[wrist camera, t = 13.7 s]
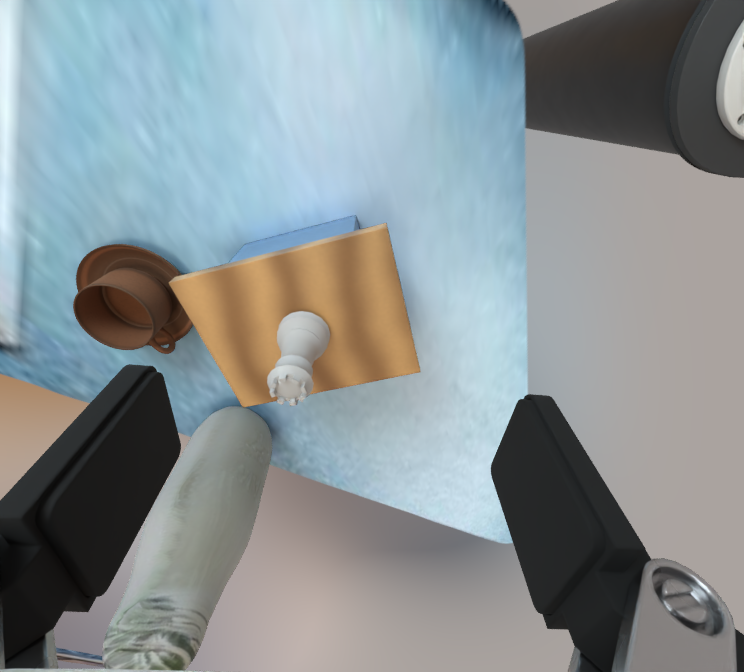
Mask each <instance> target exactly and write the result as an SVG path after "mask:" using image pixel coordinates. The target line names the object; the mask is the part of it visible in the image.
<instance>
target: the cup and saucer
mask: <svg viewBox="0 0 744 672" xmlns="http://www.w3.org/2000/svg"><path fill="white" fill-rule="evenodd" d="M181 275H182V274H181V273H180V272H179V271H178V270H177V269H176V268H175V267H174V266H173V265H172V264H171V263H169V262H168V261H167V260H165V259H164V258H162V257H161V256H159V255H157V254H155V253H153V252H151V251H149V250H146V249H144V248H141V247H137V246H133V245H126V244H114V245H107V246H103V247H100V248H97V249H95V250H93V251H91V252H90V253H88V254H87V255H86V256H85V257H84V258H83V260H82V261H81V263H80V264H79V267H78V270H77V275H76V283H77V289H78V294H77V295H76V297H75V299H74V304H73V308H74V313H75V316H76V319H77V321H78V322H79V324H80V325H81V327H82V328H83V329H84V330H85V331H86V332H87V333H88V334H89V335H90V336H91V337H93V338H94V339H95V340H97V341H99V342H100V343H102V344H104V345H107V346H109V347H112V348H116V349H121V350H134V349H138V348H141V347H143V346H145V345H149V346H152V347H153V348H155V349H156V350H157V351H159V352H161V353H164V354H169V353H171V352H173V351H174V349H175V342H176V341H178V340H180V339H181V338H183V337H184V336H185V335H186V334H187V333H188V332H189V331H190V329H191V327H192V325H193V323H192V321H191V320H190V318H189V316H188V315H187V313H186V311H185V310H184V308H183V306H182V305H181V303H180V301H179V300H178V298H177V296H176V295H175V293H174V291H173V290H172V288H171V286H170V285H169V282H170V281H171V280H172V279H173V278H174V277H177V276H181ZM167 344H169V347H168V348H163V347H161V345H167Z"/></svg>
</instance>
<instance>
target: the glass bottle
mask: <svg viewBox="0 0 744 672" xmlns="http://www.w3.org/2000/svg"><path fill="white" fill-rule="evenodd" d="M271 454H272V438H271V433H270V430H269V428H268V426H267V424H266V422H265V421H264V420H263V419H262V418H261V417H260V416H259V415H258V414H256V413H255V412H253V411H251V410H250V409H247V408H243V407H238V406H230V407H226V408H223V409H221V410H218V411H216V412H214V413H212V414H211V415H210V416H209V417H208V418H207V419H206V420H205V421H204V422H203V423H202V424H201V425H200V426H199V427H198V428H197V429H196V431H195V432H194V434H193V435H192V437H191V439H190V440H189V442H188V444H187V446H186V448H185V450H184V451H183V454H182V456H181V457H180V459H179V461H178V463H177V465H176V466H175V468H174V470H173V471H172V473H171V475H170V476H169V478H168V480H167V482H166V483H165V485H164V487H163V489H162V490H161V492H160V494H159V495H158V497H157V499H156V501H155V503H154V505H153V507H152V509H151V511H150V513H149V515H148V518H147V520H146V523H145V525H144V528H143V532H142V536H141V539H140V542H139V546H138V549H137V553H136V556H135V560H134V564H133V568H132V573H131V577H130V580H129V582H128V585H127V587H126V590H125V593H124V595H123V598H122V600H121V602H120V605H119V607H118V609H117V611H116V613H115V615H114V617H113V619H112V621H111V623H110V625H109V627H108V630H107V633H106V636H105V640H104V645H103V652H102V654H103V655H102V657H103V664H104V667H105V669H132V670H176V671H185V670H186V669H187V667H188V666H189V665H190V663H191V662H192V661H193V659H194V657H195V656H196V654H197V652H198V650H199V648H200V646H201V643H202V641H203V638H204V635H205V632H206V629H207V626H208V622H209V620H210V618H211V616H212V613H213V611H214V609H215V607H216V605H217V603H218V601H219V599H220V596H221V594H222V592H223V590H224V588H225V586H226V584H227V582H228V580H229V578H230V577H231V575H232V574H233V572H234V570H235V569H236V567H237V565H238V563H239V561H240V559H241V557H242V555H243V553H244V551H245V549H246V547H247V545H248V542H249V539H250V536H251V533H252V529H253V526H254V522H255V519H256V515H257V511H258V508H259V503H260V499H261V495H262V491H263V487H264V483H265V480H266V476H267V472H268V468H269V464H270V460H271Z"/></svg>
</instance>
